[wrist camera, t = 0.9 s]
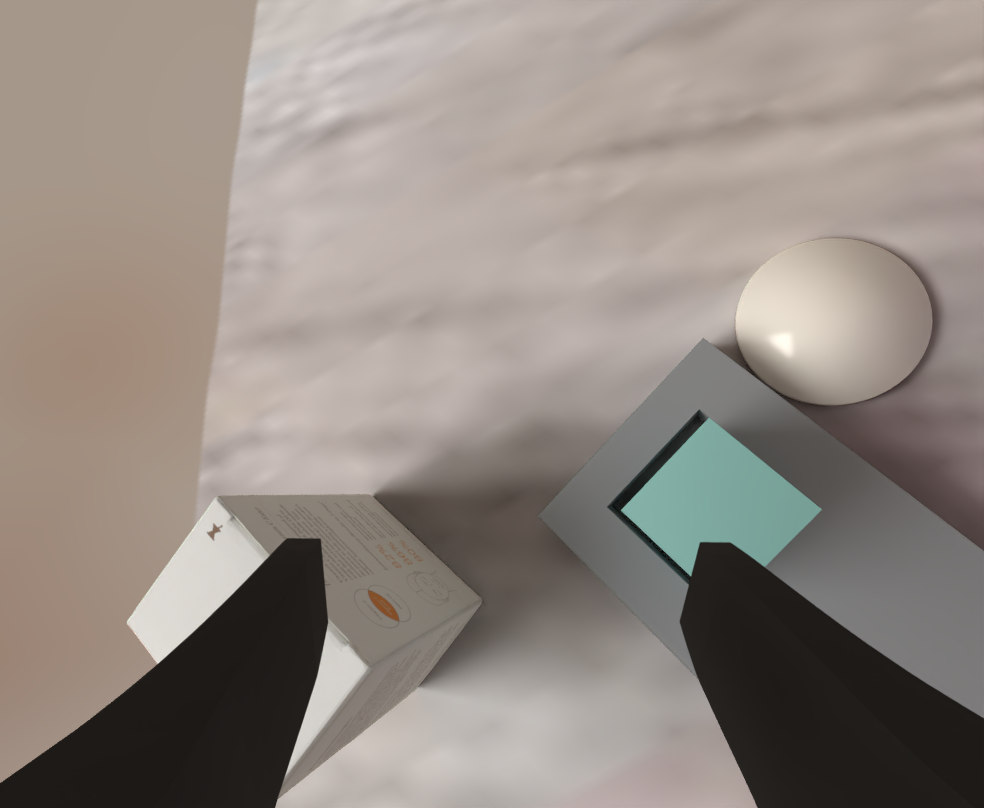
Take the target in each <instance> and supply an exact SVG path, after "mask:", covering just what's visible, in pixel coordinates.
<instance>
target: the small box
mask: <svg viewBox="0 0 984 808" xmlns="http://www.w3.org/2000/svg"><path fill="white" fill-rule="evenodd" d="M287 538H321V546H322V557H323V568H324V580H325V591H326V602H327V613H328V626H327V632H326V637H325V642H324V647H323V652H322V657H321V661H320V666H319V671H318V675H317V679H316V682H315V685H314V689H313V692H312V695H311V698H310V701H309V704H308V707H307V710H306V714H305V717H304V720H303V723H302V726H301V729H300V732H299V735H298V738H297V741H296V744H295V747H294V750H293V754H292V757H291V760H290V763H289V766H288V769H287V772H286V775H285V778H284V781H283V784H282V787H281V790H280V793H279V796H278V798H280V797H281V796H282V795H284V794H285V793H286V792H287V791H288V790H290V789H291V788H292V787H293V786H295V785H296V784H297V783H299V782H300V781H301V780H302V779H304V778H305V777H306V776H307V775H309V774H310V773H311V772H312V771H314V770H315V769H316V768H318V767H319V766H320V765H321V764H323V763H324V762H325V761H326V760H328V759H329V758H330V757H331V756H333V755H334V754H335V753H336V752H338V751H339V750H340V749H342V748H343V747H344V746H346V745H347V744H348V743H350V742H351V741H352V740H354V739H355V738H356V737H357V736H359V735H360V734H361V733H362V732H363V731H364V730H366V729H367V728H368V727H369V726H371V725H372V724H373V723H375V722H376V721H377V720H378V719H380V718H381V717H382V716H383V715H385V714H386V713H387V712H389V711H390V710H391V709H392V708H394V707H395V706H396V705H397V704H399V703H400V702H401V701H402V700H404V699H405V698H406V697H407V696H408V695H410V694H411V693H412V692H413V691H415V690H416V689H417V687H418V686H419V685H420V684H421V682H422V681H423V680H424V679H425V677H426V676H427V675H428V674H429V672H430V671H431V670H432V668H433V667H434V666H435V665H436V663H437V662H438V661H439V659H440V658H441V657H442V655H443V654H444V653H445V651H446V650H447V649H448V648H449V646H450V645H451V644H452V642H453V641H454V640H455V638H456V637H457V636H458V635H459V633H460V632H461V631H462V629H463V628H464V627H465V625H466V624H467V623H468V621H469V620H470V619H471V617H472V616H473V615H474V613H475V612H476V611H477V609H478V608H479V607H480V605H481V604H482V602H483V600H482V598H481V597H480V596H478V595H477V594H476V593H475V592H474V591H473V590H472V589H471V588H470V587H469V586H467V585H466V584H465V583H464V582H463V581H462V580H461V579H460V578H459V577H458V576H457V575H456V574H454V573H453V572H452V571H451V570H450V569H449V568H448V567H447V566H446V565H445V564H444V563H443V562H442V561H441V560H440V559H439V558H437V557H436V556H435V555H434V554H433V553H432V552H431V551H430V550H429V549H428V548H427V547H426V546H425V545H424V544H423V543H422V542H420V541H419V540H418V539H417V538H416V537H415V536H414V535H413V534H412V533H411V532H410V531H409V530H408V529H407V528H406V527H404V526H403V525H402V524H401V523H400V522H399V521H398V520H397V519H396V518H395V517H394V516H393V515H391V514H390V513H389V512H388V511H387V510H386V509H385V508H384V507H383V506H382V505H381V504H380V503H379V502H378V501H377V500H376V499H375V498H374V497H373V496H371V495H367V494H363V495H359V494H357V495H247V496H243V495H241V496H217V497H216V498H215V499H214V500H213V502H212V503H211V504H210V506H209V507H208V509H207V510H206V511H205V513H204V514H203V516H202V517H201V518H200V520H199V521H198V522H197V523H196V525H195V526H194V528H193V529H192V531H191V532H190V533H189V535H188V536H187V538H186V539H185V540H184V542H183V543H182V545H181V546H180V547H179V549H178V550H177V552H176V553H175V555H174V556H173V557H172V559H171V560H170V561H169V563H168V564H167V566H166V567H165V568H164V570H163V572H162V573H161V574H160V575H159V577H158V578H157V580H156V581H155V582H154V584H153V585H152V586H151V588H150V589H149V591H148V592H147V593H146V595H145V596H144V598H143V599H142V601H141V602H140V604H139V605H138V606H137V608H136V609H135V611H134V613H133V614H132V615H131V617H130V618H129V619H128V621H127V625H128V626H129V627H130V629H131V630H132V631H133V632H134V634H135V635H136V636H137V638H138V639H139V640H140V642H141V643H142V644H143V646H144V647H145V648H146V649H147V651H148V652H149V654H150V655H151V656H152V658H153V659H154V660H155V662H156V663H157V664H158V663H159V662H160V661H161V660H163V659H164V658H165V657H166V656H167V655H168V654H169V653H170V652H171V651H173V650H174V649H175V648H176V647H177V646H178V645H179V644H180V643H181V642H183V641H184V640H185V639H186V638H187V637H188V636H189V635H190V634H191V633H193V632H194V631H195V630H196V629H197V628H198V627H199V626H200V625H201V624H202V623H203V622H204V621H205V620H206V619H207V618H208V617H209V616H210V615H211V614H212V613H213V612H214V611H215V610H216V609H218V608H219V607H220V606H221V605H222V604H223V603H224V602H225V601H226V600H227V599H228V598H229V597H230V596H231V595H232V594H233V593H234V592H235V591H236V590H237V589H238V588H239V587H240V586H241V585H242V584H243V583H244V582H245V581H246V580H247V578H248V577H249V576H250V575H251V574H252V573H253V572H254V571H255V570H256V569H257V568H258V567H259V566H260V565H261V564H262V563H263V562H264V561H265V560H266V559H267V558H268V557H269V556H270V554H271V553H272V552H273V551H274V550H275V549H276V548H277V547H278V546H279V545H280V544H281V543H282V542H283V541H285V540H286V539H287Z"/></svg>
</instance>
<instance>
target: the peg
mask: <svg viewBox="0 0 984 808" xmlns="http://www.w3.org/2000/svg"><path fill="white" fill-rule="evenodd" d="M821 510H822V509H821V508H820V507H818V506H817V505H816V504H815V503H813V502H812V501H811V500H810V499H809V498H807V497H806V496H805V495H804V494H802V493H801V492H800V491H799V490H798V489H796V488H795V487H794V486H793V485H791V484H790V483H789V482H788V481H786V480H785V479H784V478H783V477H782V476H780V475H779V474H778V473H777V472H775V471H774V470H773V469H772V468H771V467H769V466H768V465H767V464H766V463H764V462H763V461H762V460H761V459H759V458H758V457H757V456H756V455H755V454H753V453H752V452H751V451H750V450H748V449H747V448H746V447H745V446H744V445H742V444H741V443H740V442H739V441H737V440H736V439H735V438H734V437H732V436H731V435H730V434H729V433H728V432H726V431H725V430H724V429H723V428H721V427H720V426H719V425H718V424H717V423H715V422H714V421H713V420H712V419H710V418H708V419H707V420H706V421H705V422H704V423H703V424H702V425H701V427H700V428H699V429H698V430H697V431H696V432H695V433H694V434H693V435H692V436H691V437H690V438H689V439H688V440H687V441H686V442H685V443H684V444H683V445H682V447H681V448H680V449H679V450H678V451H677V452H676V453H675V454H674V455H673V456H672V457H671V458H670V459H669V460H668V461H667V462H666V463H665V464H664V465H663V467H662V468H661V469H660V470H659V471H658V472H657V473H656V474H655V475H654V476H653V477H652V478H651V479H650V480H649V481H648V482H647V483H646V484H645V485H644V487H643V488H642V489H641V490H640V491H639V492H638V493H637V494H636V495H635V496H634V497H633V498H632V499H631V500H630V501H629V502H628V503H627V504H626V505H625V507H624V508H623V509H622V510H621V511H622V512H623V513H624V514H625V515H626V516H627V517H628V518H630V519H631V520H632V521H633V522H634V523H635V524H636V525H637V526H638V527H639V528H640V529H641V530H642V531H643V532H644V533H645V534H646V535H648V536H649V537H650V538H651V539H652V540H653V541H654V542H655V543H656V544H657V545H658V546H659V547H660V548H661V549H662V550H663V551H664V552H666V553H667V554H668V555H669V556H670V557H671V558H672V559H673V560H674V561H675V562H676V563H677V564H678V565H679V566H680V567H681V568H682V569H683V570H685V571H686V572H687V573H688V574H689V575H690V576H691V575H692V571H693V567H694V563H695V559H696V555H697V551H698V548H699V544H700V542H731V543H732V544H734V545H735V546H737V547H738V548H739V549H741V550H742V551H744V552H745V553H746V554H748V555H749V556H751V557H752V558H753V559H755V560H756V561H757V562H759V563H760V564H761V565H763V566H764V567H765V566H766V565H767V564H768V563H769V562H770V561H771V560H772V559H773V558H774V557H775V556H776V555H777V554H778V553H779V552H780V551H781V550H782V549H783V548H784V547H785V546H786V545H787V544H788V543H789V542H790V541H791V540H792V539H793V538H794V537H795V536H796V535H797V534H798V533H799V532H800V531H801V530H802V529H803V528H804V527H805V526H806V525H807V524H808V523H809V522H810V521H811V520H812V519H813V518H814V517H815V516H816V515H817V514H818V513H819V512H820V511H821Z"/></svg>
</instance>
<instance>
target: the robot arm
mask: <svg viewBox="0 0 984 808" xmlns="http://www.w3.org/2000/svg"><path fill="white" fill-rule="evenodd" d="M679 622H680V625H681V629H682V632H683V635H684V639H685V642H686V645H687V648H688V651H689V654H690V657H691V660H692V663H693V666H694V669H695V672H696V675H697V677H698V679H699V682H700V684H701V686H702V688H703V690H704V693H705V695H706V697H707V699H708V701H709V704H710V706H711V708H712V710H713V712H714V714H715V717H716V719H717V721H718V723H719V725H720V727H721V729H722V732H723V734H724V736H725V738H726V740H727V742H728V744H729V747H730V749H731V751H732V753H733V755H734V757H735V759H736V762H737V764H738V766H739V768H740V770H741V772H742V774H743V777H744V779H745V781H746V783H747V785H748V787H749V789H750V792H751V794H752V796H753V798H754V800H755V803H756V805H757V807H758V808H984V718H983V717H981V716H979V715H978V714H976V713H974V712H973V711H971V710H969V709H968V708H966V707H965V706H963V705H961V704H960V703H958V702H956V701H955V700H953V699H951V698H950V697H948V696H947V695H945V694H943V693H942V692H940V691H938V690H937V689H935V688H933V687H932V686H930V685H929V684H927V683H925V682H924V681H922V680H921V679H919V678H918V677H916V676H915V675H913V674H912V673H910V672H908V671H907V670H905V669H904V668H902V667H901V666H899V665H898V664H896V663H895V662H894V661H892V660H891V659H889V658H888V657H886V656H885V655H883V654H882V653H880V652H879V651H878V650H876V649H875V648H873V647H872V646H870V645H869V644H867V643H866V642H864V641H863V640H862V639H860V638H859V637H857V636H856V635H855V634H853V633H852V632H850V631H849V630H848V629H846V628H845V627H843V626H842V625H841V624H839V623H838V622H837V621H835V620H834V619H833V618H831V617H830V616H828V615H827V614H826V613H824V612H823V611H822V610H820V609H819V608H818V607H816V606H815V605H814V604H812V603H811V602H810V601H808V600H807V599H806V598H804V597H803V596H802V595H801V594H799V593H798V592H797V591H795V590H794V589H793V588H791V587H790V586H789V585H787V584H786V583H785V582H784V581H782V580H781V579H780V578H778V577H777V576H776V575H774V574H773V573H772V572H770V571H769V570H768V569H767V568H765V567H764V566H763V565H761V564H760V563H759V562H757V561H756V560H755V559H753V558H752V557H751V556H749V555H748V554H746V553H745V552H744V551H742V550H741V549H739V548H738V547H737V546H735V545H734V544H732V543H731V542H700V544H699V548H698V551H697V555H696V559H695V563H694V567H693V571H692V575H691V579H690V582H689V586H688V590H687V594H686V598H685V602H684V606H683V610H682V614H681V617H680V621H679ZM327 626H328V613H327V602H326V591H325V580H324V568H323V557H322V546H321V538H287V539H286V540H285V541H283V542H282V543H281V544H280V545H279V546H278V547H277V548H276V549H275V550H274V551H273V552H272V553H271V554H270V556H269V557H268V558H267V559H266V560H265V561H264V562H263V563H262V564H261V565H260V566H259V567H258V568H257V569H256V570H255V571H254V572H253V573H252V574H251V575H250V576H249V577H248V578H247V580H246V581H245V582H244V583H243V584H242V585H241V586H240V587H239V588H238V589H237V590H236V591H235V592H234V593H233V594H232V595H231V596H230V597H229V598H228V599H227V600H226V601H225V602H224V603H223V604H222V605H221V606H220V607H219V608H218V609H216V610H215V611H214V612H213V613H212V614H211V615H210V616H209V617H208V618H207V619H206V620H205V621H204V622H203V623H202V624H201V625H200V626H199V627H198V628H197V629H196V630H195V631H194V632H193V633H191V634H190V635H189V636H188V637H187V638H186V639H185V640H184V641H183V642H181V643H180V644H179V645H178V646H177V647H176V648H175V649H174V650H173V651H171V652H170V653H169V654H168V655H167V656H166V657H165V658H164V659H163V660H161V661H160V662H159V663H158V664H157V665H156V666H155V667H154V668H153V669H151V670H150V671H149V672H148V673H147V674H146V675H144V676H143V677H142V678H141V679H139V680H138V681H137V682H136V683H135V684H134V685H132V686H131V687H130V688H129V689H127V690H126V691H125V692H124V693H123V694H121V695H120V696H119V697H118V698H116V699H115V700H114V701H113V702H111V703H110V704H109V705H107V706H106V707H105V708H104V709H102V710H101V711H100V712H99V713H97V714H96V715H95V716H94V717H92V718H91V719H90V720H88V721H87V722H86V723H84V724H83V725H82V726H80V727H79V728H78V729H77V730H75V731H74V732H72V733H71V734H70V735H68V736H67V737H65V738H64V739H62V740H61V741H59V742H58V743H57V744H55V745H54V746H52V747H51V748H50V749H48V750H47V751H45V752H44V753H42V754H41V755H40V756H38V757H37V758H35V759H34V760H33V761H31V762H30V763H28V764H27V765H25V766H24V767H23V768H21V769H20V770H18V771H17V772H15V773H14V774H13V775H11V776H10V777H8V778H7V779H6V780H4V781H3V782H1V783H0V808H275V806H276V803H277V799H278V796H279V793H280V790H281V787H282V784H283V781H284V778H285V775H286V772H287V769H288V766H289V763H290V760H291V757H292V754H293V750H294V747H295V744H296V741H297V738H298V735H299V732H300V729H301V726H302V723H303V720H304V717H305V714H306V710H307V707H308V704H309V701H310V698H311V695H312V692H313V689H314V685H315V682H316V679H317V675H318V671H319V666H320V661H321V657H322V652H323V647H324V642H325V637H326V632H327Z"/></svg>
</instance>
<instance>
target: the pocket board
mask: <svg viewBox="0 0 984 808" xmlns="http://www.w3.org/2000/svg"><path fill="white" fill-rule="evenodd" d="M696 416H698V417H699V418H701V419H702V420H703V421H704V422H705V421H706V420H707V419H708V418H710V419H712V420H713V421H714V422H715V423H717V424H718V425H719V426H720V427H721V428H723V429H724V430H725V431H726V432H728V433H729V434H730V435H731V436H732V437H734V438H735V439H736V440H737V441H739V442H740V443H741V444H742V445H744V446H745V447H746V448H747V449H748V450H750V451H751V452H752V453H753V454H755V455H756V456H757V457H758V458H759V459H761V460H762V461H763V462H764V463H766V464H767V465H768V466H769V467H771V468H772V469H773V470H774V471H775V472H777V473H778V474H779V475H780V476H782V477H783V478H784V479H785V480H786V481H788V482H789V483H790V484H791V485H793V486H794V487H795V488H796V489H798V490H799V491H800V492H801V493H802V494H804V495H805V496H806V497H807V498H809V499H810V500H811V501H812V502H813V503H815V504H816V505H817V506H818V507H820V508H821V509H822V510H821V511H820V512H819V513H818V514H817V515H816V516H815V517H814V518H813V519H812V520H811V521H810V522H809V523H808V524H807V525H806V526H805V527H804V528H803V529H802V530H801V531H800V532H799V533H798V534H797V535H796V536H795V537H794V538H793V539H792V540H791V541H790V542H789V543H788V544H787V545H786V546H785V547H784V548H783V549H782V550H781V551H780V552H779V553H778V554H777V555H776V556H775V557H774V558H773V559H772V560H771V561H770V562H769V563H768V564H767V565H766V566H765V568H767V569H768V570H769V571H770V572H772V573H773V574H774V575H776V576H777V577H778V578H780V579H781V580H782V581H784V582H785V583H786V584H787V585H789V586H790V587H791V588H793V589H794V590H795V591H797V592H798V593H799V594H801V595H802V596H803V597H804V598H806V599H807V600H808V601H810V602H811V603H812V604H814V605H815V606H816V607H818V608H819V609H820V610H822V611H823V612H824V613H826V614H827V615H828V616H830V617H831V618H833V619H834V620H835V621H837V622H838V623H839V624H841V625H842V626H843V627H845V628H846V629H848V630H849V631H850V632H852V633H853V634H855V635H856V636H857V637H859V638H860V639H862V640H863V641H864V642H866V643H867V644H869V645H870V646H872V647H873V648H875V649H876V650H878V651H879V652H880V653H882V654H883V655H885V656H886V657H888V658H889V659H891V660H892V661H894V662H895V663H896V664H898V665H899V666H901V667H902V668H904V669H905V670H907V671H908V672H910V673H912V674H913V675H915V676H916V677H918V678H919V679H921V680H922V681H924V682H925V683H927V684H929V685H930V686H932V687H933V688H935V689H937V690H938V691H940V692H942V693H943V694H945V695H947V696H948V697H950V698H951V699H953V700H955V701H956V702H958V703H960V704H961V705H963V706H965V707H966V708H968V709H969V710H971V711H973V712H974V713H976V714H978V715H979V716H981V717H983V718H984V551H983V550H982V549H981V548H979V547H978V546H977V545H975V544H974V543H973V542H971V541H970V540H969V539H968V538H966V537H965V536H964V535H962V534H961V533H960V532H958V531H957V530H956V529H954V528H953V527H952V526H950V525H949V524H948V523H946V522H945V521H944V520H942V519H941V518H940V517H939V516H937V515H936V514H935V513H933V512H932V511H931V510H929V509H928V508H927V507H925V506H924V505H923V504H921V503H920V502H919V501H917V500H916V499H915V498H914V497H912V496H911V495H910V494H908V493H907V492H906V491H904V490H903V489H902V488H900V487H899V486H898V485H896V484H895V483H894V482H892V481H891V480H890V479H889V478H887V477H886V476H885V475H883V474H882V473H881V472H879V471H878V470H877V469H875V468H874V467H873V466H871V465H870V464H869V463H867V462H866V461H865V460H863V459H862V458H861V457H860V456H858V455H857V454H856V453H854V452H853V451H852V450H850V449H849V448H848V447H846V446H845V445H844V444H842V443H841V442H840V441H838V440H837V439H836V438H835V437H833V436H832V435H831V434H829V433H828V432H827V431H825V430H824V429H823V428H821V427H820V426H819V425H817V424H816V423H815V422H813V421H812V420H811V419H810V418H808V417H807V416H806V415H804V414H803V413H802V412H800V411H799V410H798V409H796V408H795V407H794V406H792V405H791V404H790V403H788V402H787V401H786V400H784V399H783V398H782V397H781V396H779V395H778V394H777V393H775V392H774V391H773V390H771V389H770V388H769V387H767V386H766V385H765V384H763V383H762V382H761V381H759V380H758V379H757V378H756V377H754V376H753V375H752V374H750V373H749V372H748V371H746V370H745V369H744V368H742V367H741V366H740V365H738V364H737V363H736V362H734V361H733V360H732V359H731V358H729V357H728V356H727V355H725V354H724V353H723V352H721V351H720V350H719V349H717V348H716V347H715V346H713V345H712V344H711V343H709V342H708V341H707V340H705V339H704V338H703V339H702V340H701V341H700V342H699V343H698V344H697V345H696V346H695V347H694V348H693V349H692V351H691V352H690V353H689V354H688V355H687V356H686V357H685V358H684V359H683V360H682V361H681V362H680V363H679V365H678V366H677V367H676V368H675V369H674V370H673V371H672V372H671V373H670V374H669V375H668V376H667V377H666V378H665V380H664V381H663V382H662V383H661V384H660V385H659V386H658V387H657V388H656V389H655V390H654V391H653V392H652V394H651V395H650V396H649V397H648V398H647V399H646V400H645V401H644V402H643V403H642V404H641V405H640V406H639V407H638V409H637V410H636V411H635V412H634V413H633V414H632V415H631V416H630V417H629V418H628V419H627V420H626V421H625V423H624V424H623V425H622V426H621V427H620V428H619V429H618V430H617V431H616V432H615V433H614V434H613V435H612V436H611V438H610V439H609V440H608V441H607V442H606V443H605V444H604V445H603V446H602V447H601V448H600V449H599V450H598V451H597V453H596V454H595V455H594V456H593V457H592V458H591V459H590V460H589V461H588V462H587V463H586V464H585V465H584V467H583V468H582V469H581V470H580V471H579V472H578V473H577V474H576V475H575V476H574V477H573V478H572V479H571V480H570V482H569V483H568V484H567V485H566V486H565V487H564V488H563V489H562V490H561V491H560V492H559V493H558V494H557V496H556V497H555V498H554V499H553V500H552V501H551V502H550V503H549V504H548V505H547V506H546V507H545V508H544V509H543V511H542V512H541V513H540V514H539V515H538V517H539V518H540V519H541V520H542V521H543V522H544V523H545V524H546V525H547V526H548V527H549V528H550V529H551V530H552V531H553V532H554V533H555V534H556V535H557V536H558V537H559V538H560V539H561V540H562V541H563V542H564V543H565V544H566V545H567V546H568V547H569V548H570V549H571V550H572V551H573V552H574V553H575V554H576V555H577V556H578V557H579V558H580V559H581V560H582V562H583V563H584V564H585V565H586V566H587V567H588V568H589V569H590V570H591V571H592V572H593V573H594V574H595V575H596V576H597V577H598V578H599V579H600V580H601V581H602V582H603V583H604V584H605V585H606V586H607V587H608V588H609V589H610V590H611V591H612V592H613V593H614V594H615V595H616V596H617V597H618V598H619V599H620V600H621V601H622V602H623V603H624V604H625V605H626V606H627V607H628V608H629V609H630V610H631V611H632V612H633V613H634V614H635V615H636V616H637V617H638V618H639V619H640V620H641V621H642V623H643V624H644V625H645V626H646V627H647V628H648V629H649V630H650V631H651V632H652V633H653V634H654V635H655V636H656V637H657V638H658V639H659V640H660V641H661V642H662V643H663V644H664V645H665V646H666V647H667V648H668V649H669V650H670V651H671V652H672V653H673V654H674V655H675V656H676V657H677V658H678V659H679V660H680V661H681V662H682V663H683V664H684V665H685V666H686V667H687V668H688V669H689V670H690V671H691V672H692V673H693V674H694V675H695V676H696V677H697V675H696V672H695V669H694V666H693V663H692V660H691V657H690V654H689V651H688V648H687V645H686V642H685V639H684V635H683V632H682V629H681V625H680V622H679V621H680V617H681V614H682V610H683V606H684V602H685V598H686V594H687V590H688V586H689V582H690V580H689V579H688V578H687V577H686V576H685V575H684V574H683V573H682V572H681V571H680V570H679V569H678V568H677V567H676V566H675V565H674V564H672V563H671V562H670V561H669V560H668V559H667V558H666V557H665V556H664V555H663V554H662V553H661V552H660V551H659V550H658V549H657V548H656V547H655V546H653V545H652V544H651V543H650V542H649V541H648V540H647V539H646V538H645V537H644V536H643V535H642V534H641V533H640V532H639V531H638V530H637V529H636V528H635V527H633V526H632V525H631V524H630V523H629V522H628V521H627V520H626V519H625V518H624V517H623V516H622V515H621V514H620V513H619V512H618V511H617V510H616V509H614V508H613V507H612V505H613V504H614V503H615V502H616V501H617V500H618V499H619V498H620V497H621V496H622V495H623V493H624V492H625V491H626V490H627V489H628V488H629V487H630V486H631V485H632V484H633V483H634V482H635V481H636V480H637V479H638V478H639V477H640V476H641V474H642V473H643V472H644V471H645V470H646V469H647V468H648V467H649V466H650V465H651V464H652V463H653V462H654V461H655V460H656V459H657V458H658V457H659V455H660V454H661V453H662V452H663V451H664V450H665V449H666V448H667V447H668V446H669V445H670V444H671V443H672V442H673V441H674V440H675V439H676V438H677V436H678V435H679V434H680V433H681V432H682V431H683V430H684V429H685V428H686V427H687V426H688V425H689V424H690V423H691V422H692V421H693V420H694V419H695V417H696ZM697 678H698V677H697Z"/></svg>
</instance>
